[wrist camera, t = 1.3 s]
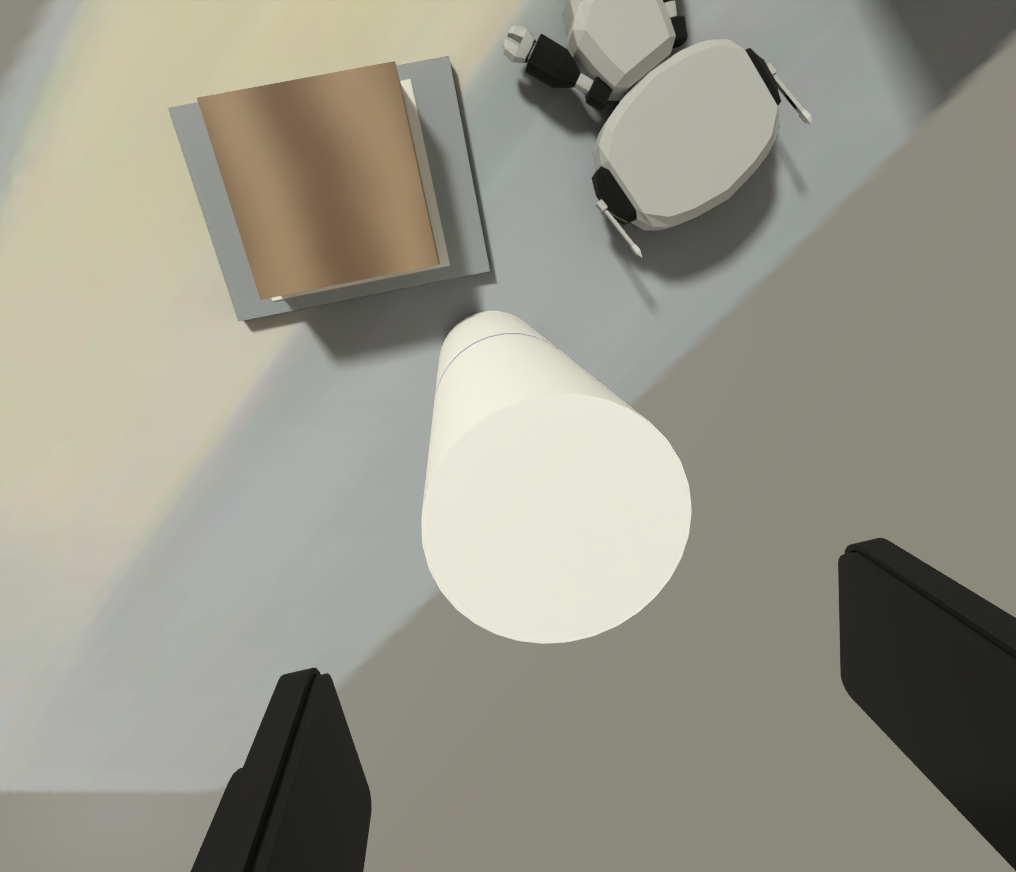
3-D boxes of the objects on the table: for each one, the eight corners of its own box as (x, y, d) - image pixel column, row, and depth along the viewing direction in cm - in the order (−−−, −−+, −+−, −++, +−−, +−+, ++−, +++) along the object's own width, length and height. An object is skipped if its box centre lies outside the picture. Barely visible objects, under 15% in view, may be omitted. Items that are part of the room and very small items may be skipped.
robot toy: (486, 64, 35) (627, 269, 38) (487, 30, 30) (647, 265, 33) (652, -79, 33) (784, 146, 36) (678, -136, 29) (825, 125, 32)
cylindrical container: (563, 341, 39) (742, 468, 15) (513, 432, 40) (605, 677, 17) (469, 291, 37) (502, 342, 13) (421, 387, 39) (375, 586, 15)
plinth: (401, 84, 33) (394, 61, 29) (440, 264, 36) (438, 264, 32) (226, 117, 32) (196, 97, 29) (281, 295, 35) (260, 300, 32)
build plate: (448, 60, 33) (448, 55, 33) (489, 271, 37) (490, 271, 36) (174, 111, 33) (167, 107, 32) (242, 320, 36) (237, 321, 36)
